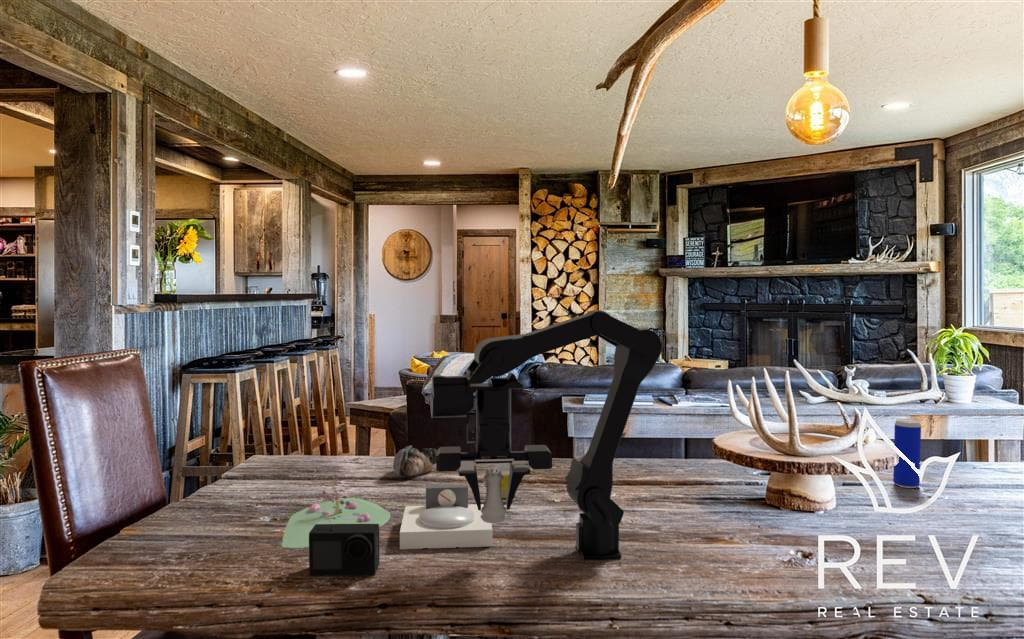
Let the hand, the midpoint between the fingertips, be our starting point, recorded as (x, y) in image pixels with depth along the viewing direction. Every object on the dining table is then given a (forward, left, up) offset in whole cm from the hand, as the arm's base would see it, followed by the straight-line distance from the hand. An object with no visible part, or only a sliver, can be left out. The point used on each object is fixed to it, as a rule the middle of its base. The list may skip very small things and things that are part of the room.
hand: (493, 509), depth 112 cm
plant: (+30, -20, -9) cm, 37 cm away
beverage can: (-96, -34, -9) cm, 102 cm away
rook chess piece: (0, 0, -2) cm, 2 cm away
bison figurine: (+16, -53, -9) cm, 56 cm away
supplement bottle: (-4, -32, -9) cm, 33 cm away
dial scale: (+8, -13, -9) cm, 17 cm away
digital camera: (+24, +2, -9) cm, 26 cm away
